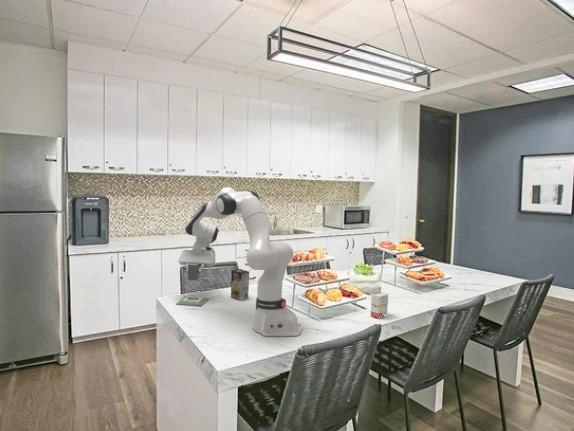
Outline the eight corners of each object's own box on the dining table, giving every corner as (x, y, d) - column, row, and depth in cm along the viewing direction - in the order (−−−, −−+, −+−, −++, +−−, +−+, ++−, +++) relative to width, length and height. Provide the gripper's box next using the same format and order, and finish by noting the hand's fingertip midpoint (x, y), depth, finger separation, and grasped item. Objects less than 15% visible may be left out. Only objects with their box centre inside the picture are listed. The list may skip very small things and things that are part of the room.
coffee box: (230, 297, 214) (230, 270, 212) (238, 295, 218) (239, 268, 217) (240, 301, 207) (241, 273, 206) (249, 298, 212) (249, 271, 211)
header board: (209, 298, 210) (209, 295, 210) (201, 306, 196) (201, 303, 196) (186, 297, 211) (186, 294, 211) (176, 304, 197) (176, 301, 197)
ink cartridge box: (378, 319, 185) (380, 290, 184) (370, 316, 189) (371, 288, 188) (387, 315, 191) (389, 287, 190) (379, 313, 195) (380, 285, 194)
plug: (199, 278, 204) (199, 263, 204) (196, 280, 200) (197, 265, 200) (190, 277, 205) (191, 263, 204) (188, 279, 201) (188, 264, 200)
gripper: (181, 246, 209) (173, 267, 201) (216, 248, 207) (210, 269, 198) (184, 253, 214) (176, 273, 205) (218, 255, 212) (212, 275, 203)
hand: (193, 271), depth 202 cm, fingers closed on plug, 5 cm apart
